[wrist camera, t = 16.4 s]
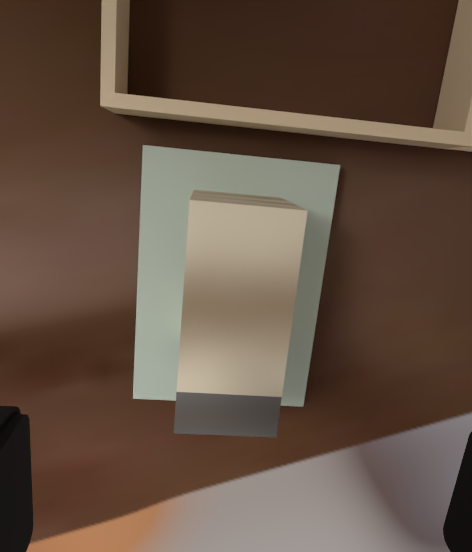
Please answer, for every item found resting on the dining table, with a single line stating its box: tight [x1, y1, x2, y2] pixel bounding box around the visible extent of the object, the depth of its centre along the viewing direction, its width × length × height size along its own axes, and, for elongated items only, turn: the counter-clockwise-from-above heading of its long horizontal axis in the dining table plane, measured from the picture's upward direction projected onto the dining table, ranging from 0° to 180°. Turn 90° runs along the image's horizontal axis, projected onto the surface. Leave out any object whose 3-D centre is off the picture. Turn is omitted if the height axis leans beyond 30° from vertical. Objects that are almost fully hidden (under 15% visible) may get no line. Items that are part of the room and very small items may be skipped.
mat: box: [133, 145, 340, 407], centre depth 24 cm, size 14×10×1 cm
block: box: [174, 190, 308, 437], centre depth 20 cm, size 10×4×6 cm, turn 174°
